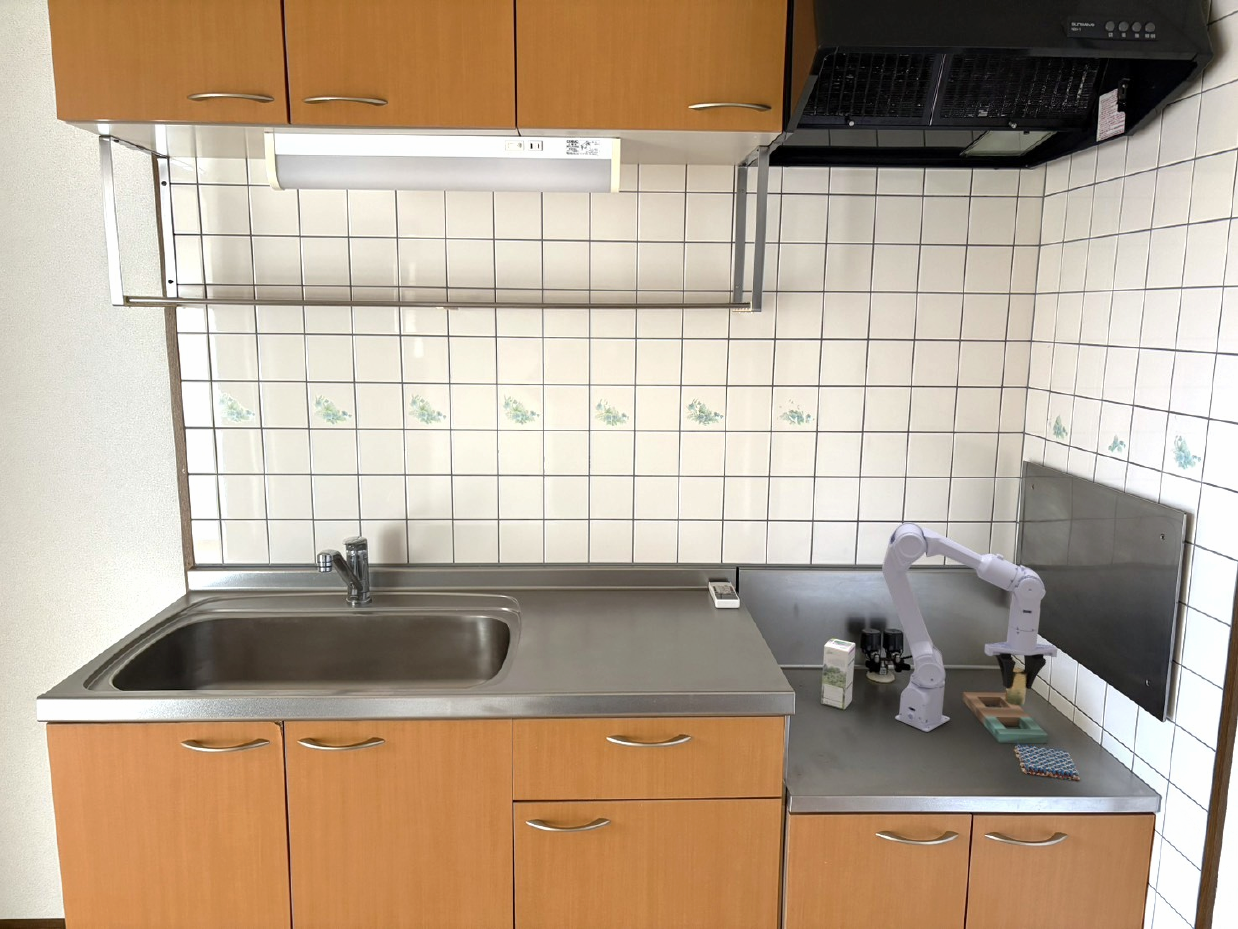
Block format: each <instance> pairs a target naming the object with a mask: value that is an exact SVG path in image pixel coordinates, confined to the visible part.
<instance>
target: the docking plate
mask: <svg viewBox="0 0 1238 929" xmlns="http://www.w3.org/2000/svg"><path fill="white" fill-rule="evenodd" d="M1005 695H1006V692H983V691H982V692H975V691H972V692H971V691H963V692H962V698H961V700H962V701H963V703H964V704H965V705H966V707H968V708H969V710H970V711H971V712H972V713H973V714H974V716H975V717H976V718H977V719H978V720H979V721H980V722H981V724H982V725H983V726H984V727H985V728H986V730H988V732H989V734H991V735H992V736H993V737H994V739H995V740H996V741H997V742H998V743H999V744H1000V743H1001V744H1003V743H1005V744H1017V743H1018V744H1044V743H1048V733H1047V732H1046V731H1045V730H1044V729H1042V728H1041V727H1040V726H1039V724H1038V723H1037V722H1035V720H1034V719H1032V718H1031V716H1029V714H1028V713H1027V712H1026V711H1024V710H1023V709H1022V708H1021V706H1020V705H1019V706H1018V705H1012V704H1009V703H1007V702H1006V701H1005ZM987 706H989V707H987ZM991 706H993V707H991ZM994 706H1000V707H994ZM1005 726H1006V727H1008V726H1009V727H1010V726H1011V727H1012V726H1013V727H1020V728H1006V727H1005Z"/></svg>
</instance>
